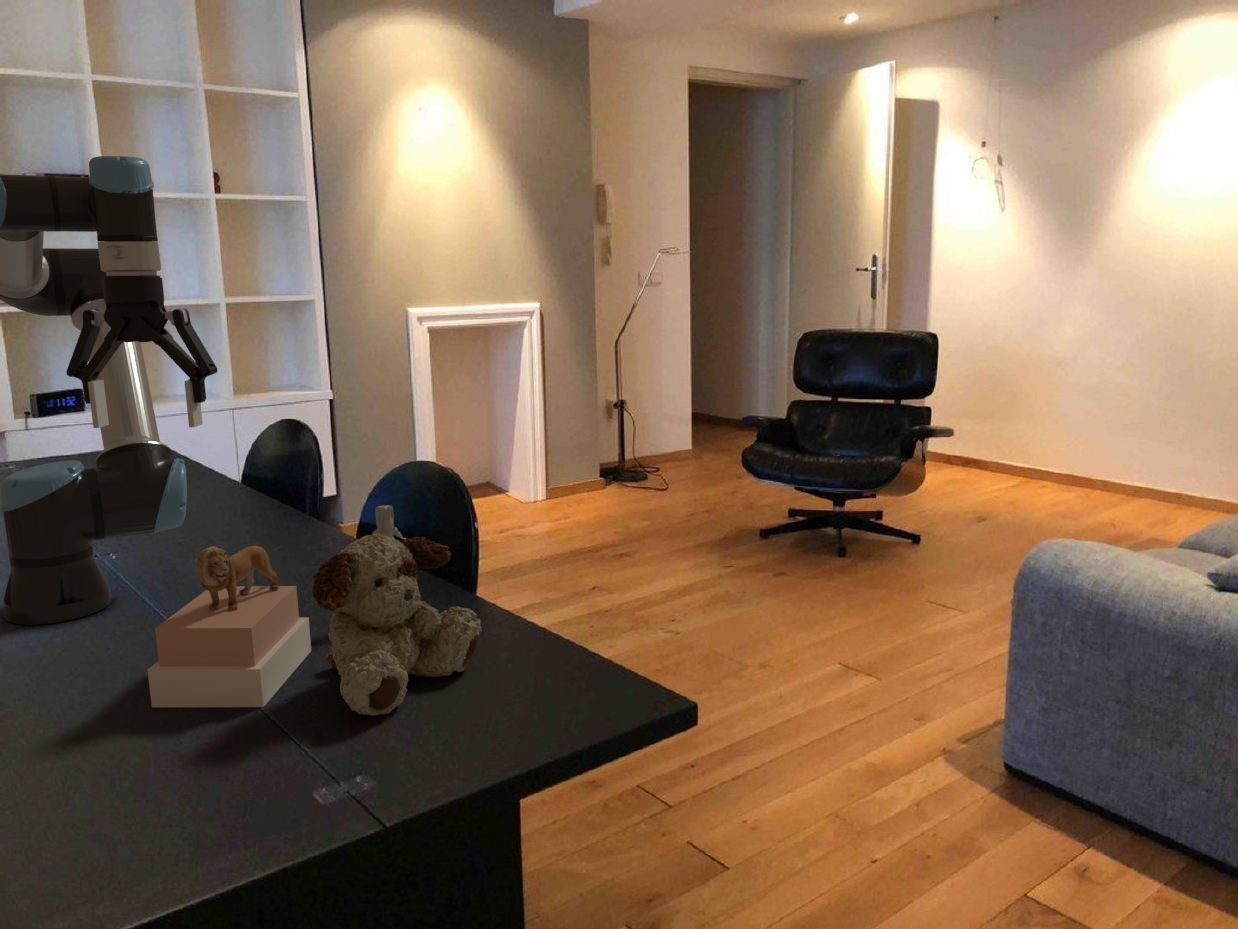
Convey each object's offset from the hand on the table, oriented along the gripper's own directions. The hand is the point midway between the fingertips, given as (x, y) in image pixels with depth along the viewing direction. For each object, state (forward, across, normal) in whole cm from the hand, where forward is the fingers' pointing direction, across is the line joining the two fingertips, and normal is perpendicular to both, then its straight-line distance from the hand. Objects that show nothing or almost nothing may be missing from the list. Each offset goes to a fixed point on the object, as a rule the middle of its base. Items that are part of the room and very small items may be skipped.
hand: (148, 426), depth 139 cm
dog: (+32, +36, -16) cm, 51 cm away
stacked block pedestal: (+31, +16, -15) cm, 38 cm away
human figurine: (+32, +31, +7) cm, 45 cm away
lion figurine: (+22, +17, -14) cm, 31 cm away
